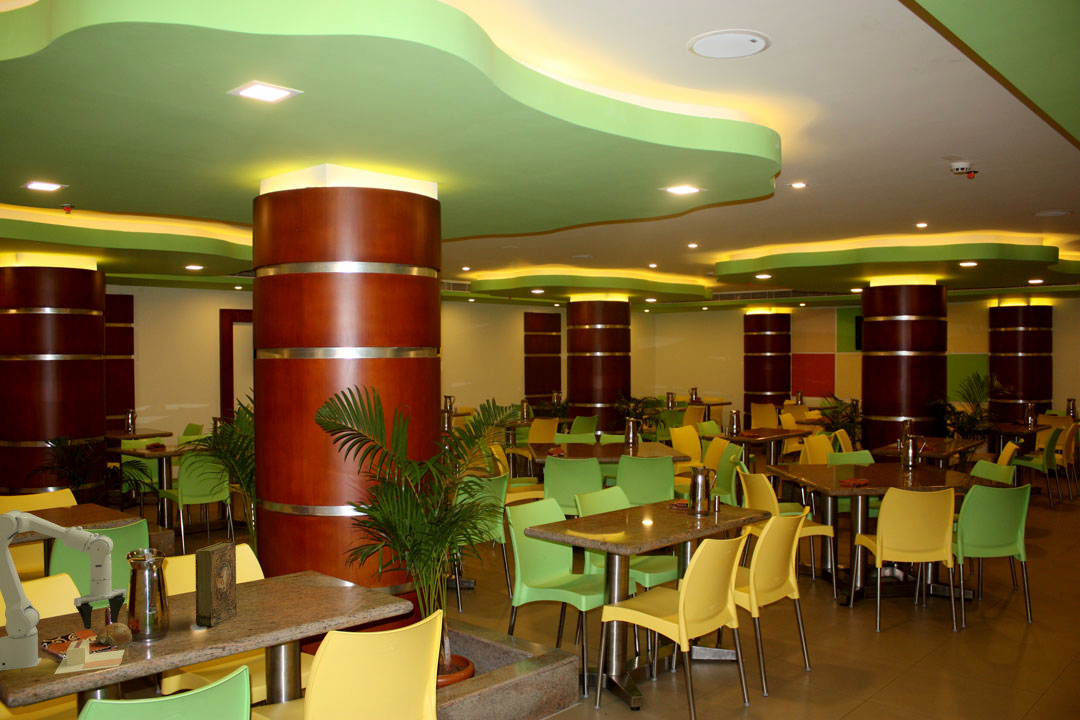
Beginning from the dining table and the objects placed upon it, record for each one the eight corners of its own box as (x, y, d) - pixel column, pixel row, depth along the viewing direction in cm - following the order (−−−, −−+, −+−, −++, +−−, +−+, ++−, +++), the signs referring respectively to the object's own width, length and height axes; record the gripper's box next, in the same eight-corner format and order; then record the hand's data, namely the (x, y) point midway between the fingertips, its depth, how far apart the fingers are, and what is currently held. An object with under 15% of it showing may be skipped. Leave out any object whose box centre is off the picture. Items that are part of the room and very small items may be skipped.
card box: (67, 665, 241) (67, 649, 242) (71, 657, 249) (71, 641, 249) (85, 663, 243) (84, 647, 243) (89, 655, 251) (89, 639, 251)
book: (224, 613, 295) (223, 541, 296) (238, 614, 294) (237, 541, 295) (196, 627, 279) (195, 550, 280) (211, 628, 278) (210, 551, 279)
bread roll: (131, 655, 263) (142, 629, 266) (100, 649, 256) (111, 622, 259) (118, 649, 270) (129, 624, 272) (87, 642, 263) (98, 616, 266)
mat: (54, 676, 235) (54, 673, 235) (64, 658, 250) (64, 656, 250) (120, 667, 240) (120, 665, 240) (125, 651, 255) (125, 649, 255)
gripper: (82, 585, 242) (82, 633, 241) (132, 575, 254) (132, 621, 253) (70, 582, 246) (70, 629, 245) (119, 572, 258) (119, 618, 257)
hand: (100, 625), depth 250 cm, fingers open, 7 cm apart
